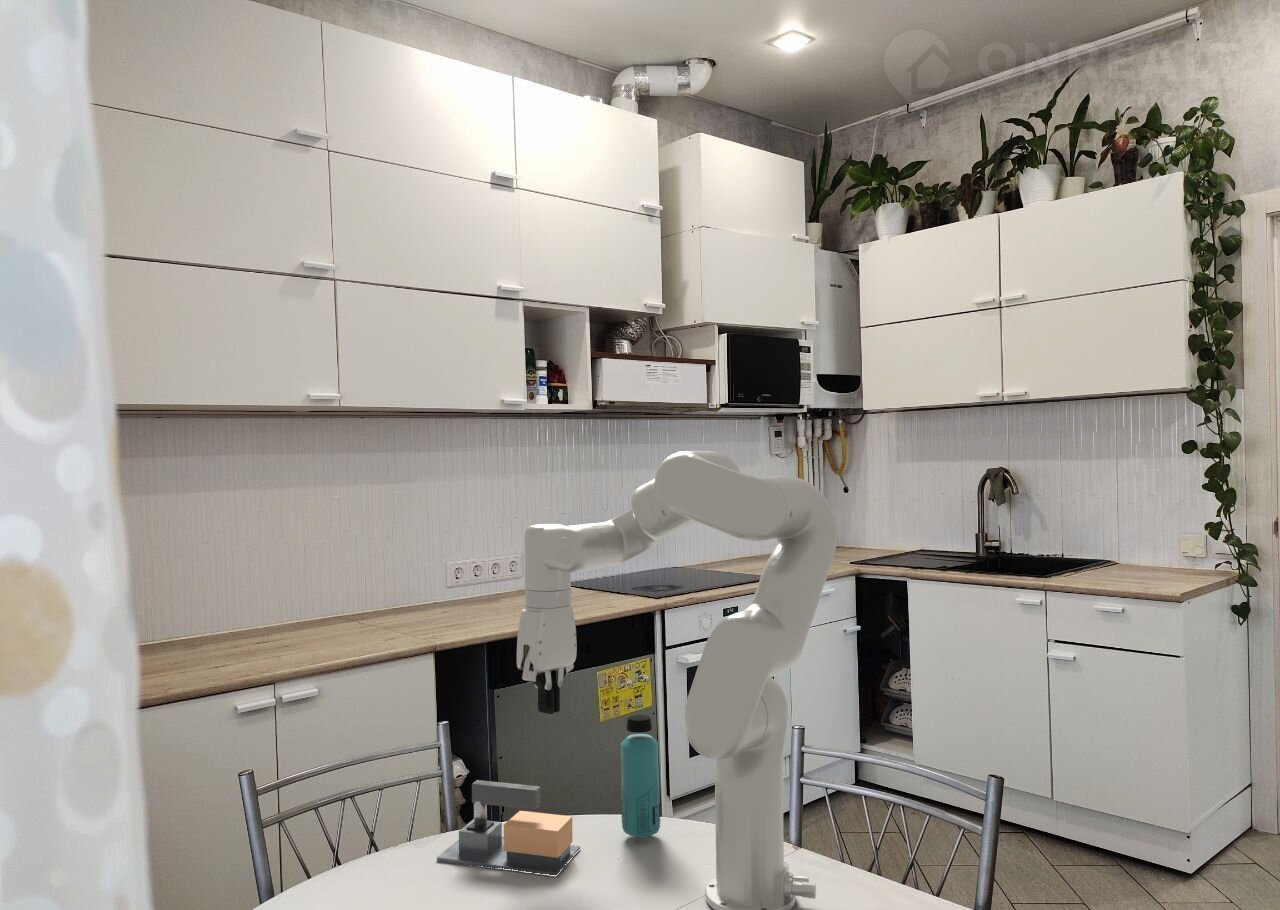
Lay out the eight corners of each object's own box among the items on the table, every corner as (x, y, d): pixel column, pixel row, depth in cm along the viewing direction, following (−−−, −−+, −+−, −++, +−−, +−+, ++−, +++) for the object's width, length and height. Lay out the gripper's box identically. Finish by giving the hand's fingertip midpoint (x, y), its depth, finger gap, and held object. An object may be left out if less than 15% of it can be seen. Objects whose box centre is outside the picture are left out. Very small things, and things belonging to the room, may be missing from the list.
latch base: (580, 849, 145) (579, 822, 145) (556, 877, 135) (555, 848, 136) (467, 836, 151) (467, 810, 151) (436, 861, 141) (436, 833, 141)
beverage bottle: (657, 847, 145) (655, 722, 146) (616, 844, 147) (615, 720, 147) (664, 831, 152) (663, 711, 152) (625, 829, 153) (624, 710, 153)
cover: (572, 841, 143) (572, 816, 143) (558, 857, 138) (557, 831, 138) (520, 835, 146) (519, 810, 146) (503, 850, 140) (503, 824, 140)
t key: (540, 827, 143) (540, 786, 143) (535, 832, 141) (535, 790, 141) (477, 820, 146) (477, 779, 146) (471, 825, 144) (471, 784, 144)
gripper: (562, 592, 157) (563, 698, 157) (498, 603, 146) (499, 718, 145) (595, 596, 153) (596, 705, 153) (531, 607, 141) (532, 726, 141)
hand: (549, 711), depth 149 cm, fingers closed
